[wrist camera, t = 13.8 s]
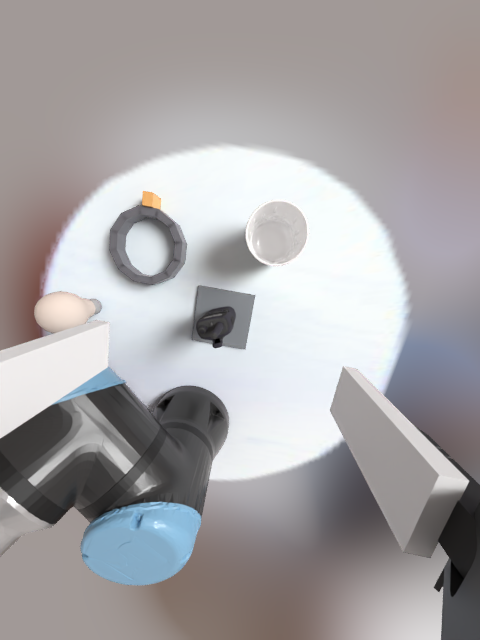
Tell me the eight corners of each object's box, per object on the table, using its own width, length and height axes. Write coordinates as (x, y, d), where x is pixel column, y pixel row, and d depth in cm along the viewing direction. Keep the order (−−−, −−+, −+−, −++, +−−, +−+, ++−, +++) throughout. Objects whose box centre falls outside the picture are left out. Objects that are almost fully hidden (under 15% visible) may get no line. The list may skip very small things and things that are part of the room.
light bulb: (113, 288, 41) (63, 294, 30) (115, 323, 42) (69, 341, 32) (78, 287, 41) (16, 292, 31) (82, 322, 43) (24, 339, 32)
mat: (245, 348, 42) (245, 349, 42) (192, 338, 42) (191, 339, 42) (255, 295, 40) (255, 295, 39) (199, 285, 40) (198, 285, 40)
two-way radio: (235, 303, 40) (225, 321, 25) (240, 327, 41) (233, 359, 26) (205, 309, 40) (178, 331, 26) (210, 333, 41) (187, 367, 27)
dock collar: (182, 287, 40) (176, 289, 37) (117, 276, 41) (106, 276, 38) (191, 203, 37) (186, 198, 34) (121, 192, 38) (110, 185, 35)
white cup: (287, 271, 39) (299, 271, 29) (242, 262, 39) (239, 259, 29) (299, 223, 37) (316, 206, 27) (252, 213, 37) (252, 193, 27)
